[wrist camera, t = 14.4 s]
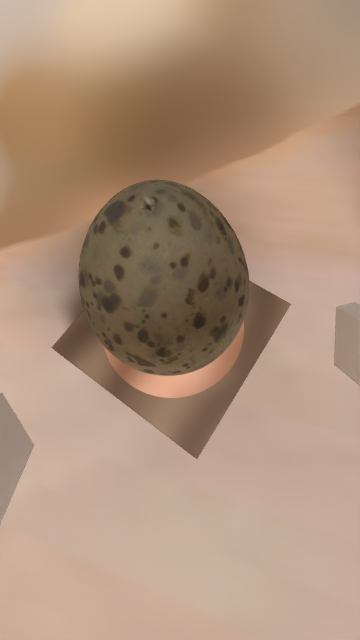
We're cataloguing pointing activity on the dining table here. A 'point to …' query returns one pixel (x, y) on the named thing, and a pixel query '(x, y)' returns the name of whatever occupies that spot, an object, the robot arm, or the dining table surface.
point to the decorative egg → (163, 279)
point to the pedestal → (181, 390)
